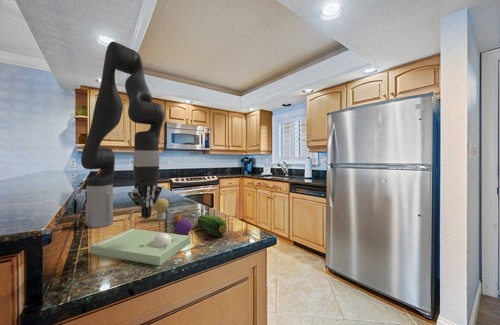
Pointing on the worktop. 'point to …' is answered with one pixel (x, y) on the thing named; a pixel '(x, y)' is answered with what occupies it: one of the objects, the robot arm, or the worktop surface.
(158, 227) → the worktop surface
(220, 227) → the vegetable
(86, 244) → the worktop surface
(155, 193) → the robot arm
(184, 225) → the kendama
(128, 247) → the putting board
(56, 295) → the worktop surface
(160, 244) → the ball
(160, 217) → the light bulb
